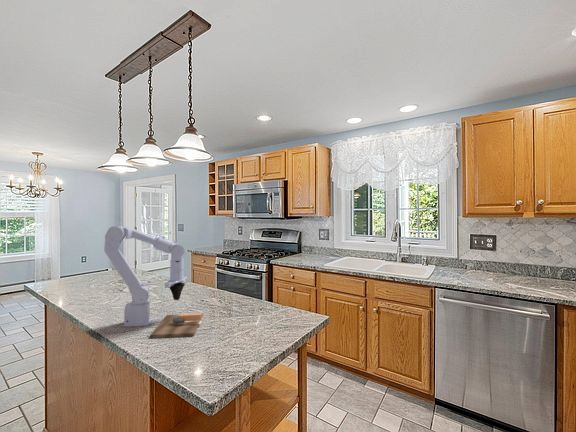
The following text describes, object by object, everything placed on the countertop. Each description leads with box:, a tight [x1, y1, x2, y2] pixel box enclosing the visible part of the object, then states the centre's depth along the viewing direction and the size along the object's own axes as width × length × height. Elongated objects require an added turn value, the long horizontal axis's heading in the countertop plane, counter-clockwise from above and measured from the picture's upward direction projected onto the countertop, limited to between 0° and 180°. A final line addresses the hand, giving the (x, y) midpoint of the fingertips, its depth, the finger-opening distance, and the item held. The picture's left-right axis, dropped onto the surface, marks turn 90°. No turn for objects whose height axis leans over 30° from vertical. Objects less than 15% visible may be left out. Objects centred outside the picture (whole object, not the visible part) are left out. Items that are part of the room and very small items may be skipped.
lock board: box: [150, 313, 203, 339], centre depth 120 cm, size 17×22×2 cm
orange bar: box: [173, 312, 203, 323], centre depth 120 cm, size 12×5×2 cm, turn 101°
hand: (176, 299), depth 129 cm, fingers closed
